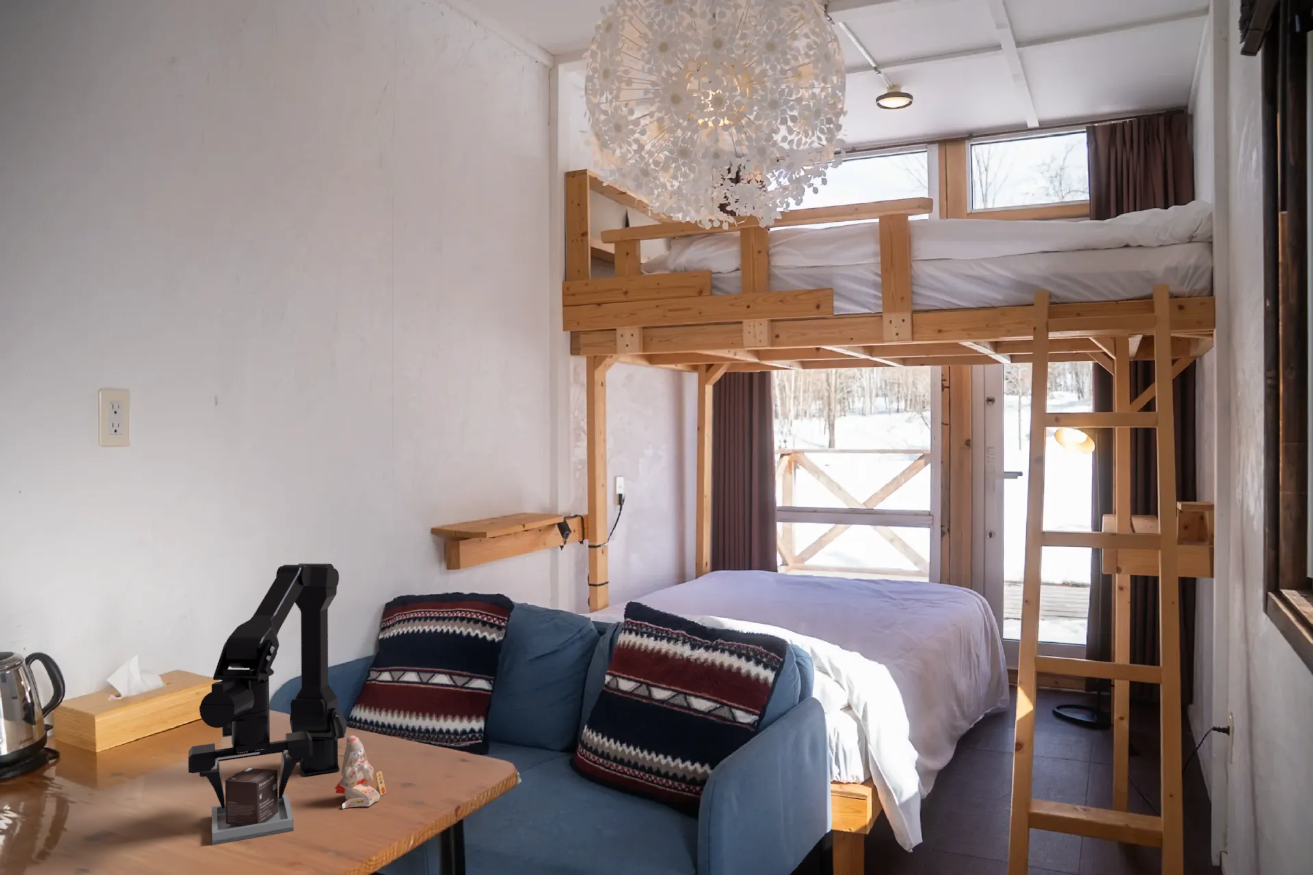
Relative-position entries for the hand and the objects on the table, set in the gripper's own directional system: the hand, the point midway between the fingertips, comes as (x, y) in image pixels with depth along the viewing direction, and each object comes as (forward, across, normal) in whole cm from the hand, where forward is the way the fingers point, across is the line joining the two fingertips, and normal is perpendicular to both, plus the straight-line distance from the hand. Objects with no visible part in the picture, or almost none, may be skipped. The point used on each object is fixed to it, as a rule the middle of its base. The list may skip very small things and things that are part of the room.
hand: (252, 802), depth 158 cm
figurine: (+4, -18, -2) cm, 18 cm away
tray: (+3, 0, 0) cm, 3 cm away
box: (+3, 0, 0) cm, 3 cm away
